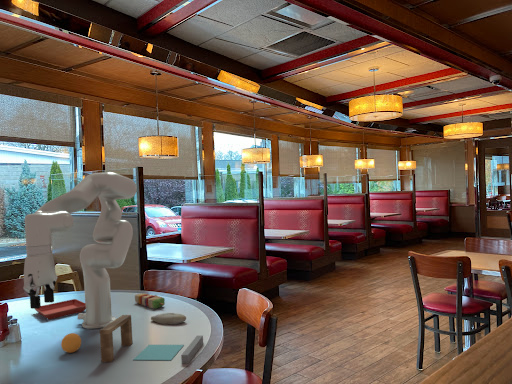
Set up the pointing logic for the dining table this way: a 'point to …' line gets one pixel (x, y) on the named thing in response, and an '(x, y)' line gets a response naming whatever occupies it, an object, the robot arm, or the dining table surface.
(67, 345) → the ball
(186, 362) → the stopper rail
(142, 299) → the skewer
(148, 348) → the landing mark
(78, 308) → the plant saucer
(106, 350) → the bridge
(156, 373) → the dining table surface
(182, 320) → the decorative stone
